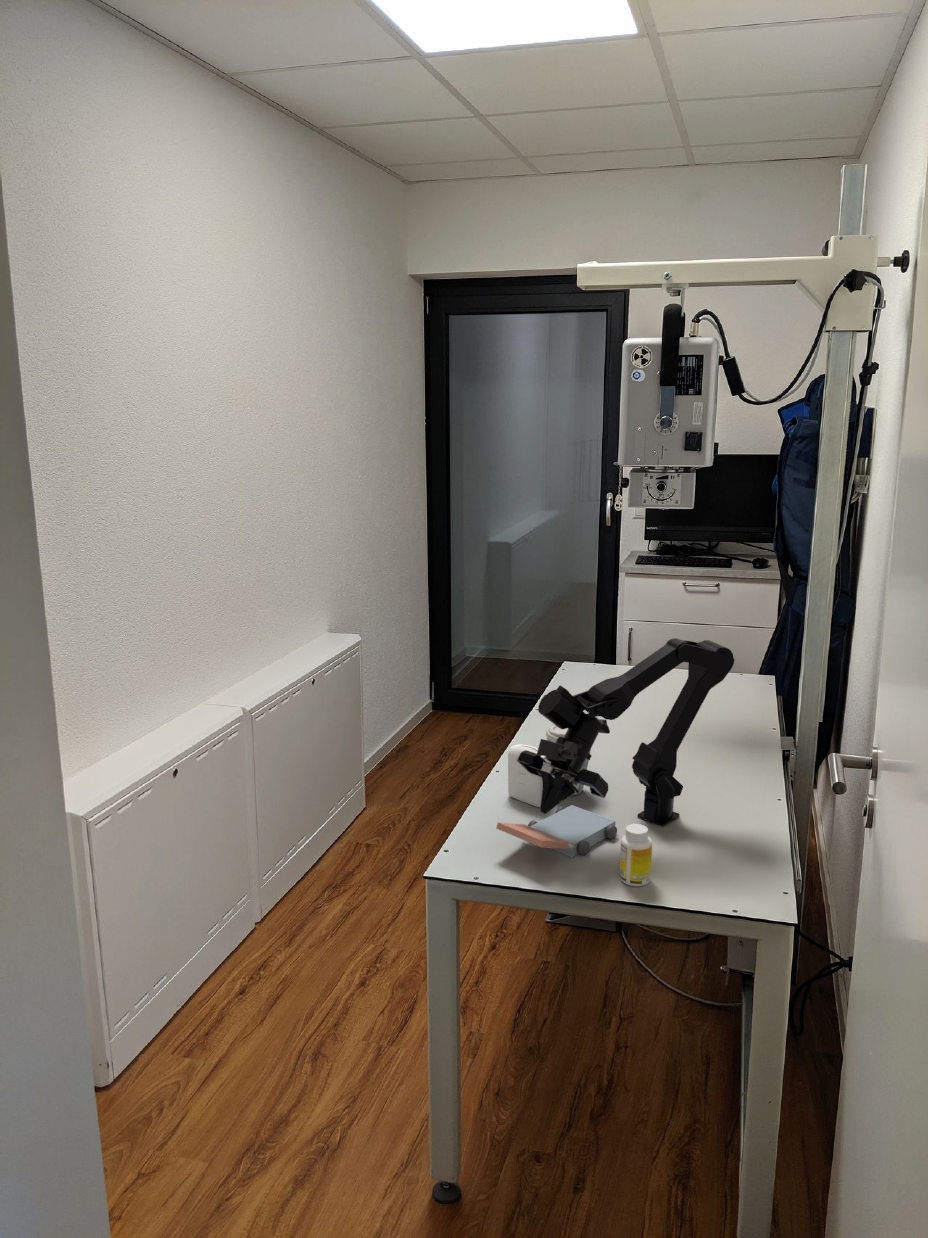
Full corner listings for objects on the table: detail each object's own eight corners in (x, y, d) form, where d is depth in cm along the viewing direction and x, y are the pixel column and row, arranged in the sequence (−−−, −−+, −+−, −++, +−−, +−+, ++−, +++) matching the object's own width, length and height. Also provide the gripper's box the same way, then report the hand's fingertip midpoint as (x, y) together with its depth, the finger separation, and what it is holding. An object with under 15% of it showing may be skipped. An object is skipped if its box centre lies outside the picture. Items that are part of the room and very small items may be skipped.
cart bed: (566, 814, 200) (566, 802, 199) (620, 834, 191) (620, 822, 190) (523, 836, 190) (523, 824, 190) (577, 859, 181) (578, 847, 181)
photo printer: (504, 796, 209) (505, 743, 206) (518, 790, 212) (518, 738, 209) (540, 810, 202) (541, 756, 199) (553, 804, 205) (554, 750, 202)
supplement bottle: (656, 879, 174) (658, 828, 171) (639, 891, 170) (641, 838, 167) (630, 869, 178) (632, 818, 175) (613, 880, 174) (615, 829, 171)
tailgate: (524, 823, 189) (495, 821, 182) (574, 843, 181) (545, 842, 174) (522, 829, 189) (493, 827, 182) (572, 850, 180) (544, 848, 174)
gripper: (522, 711, 187) (485, 781, 182) (600, 733, 175) (563, 809, 170) (547, 737, 195) (512, 805, 190) (624, 761, 182) (589, 834, 177)
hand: (542, 812), depth 182 cm, fingers closed
